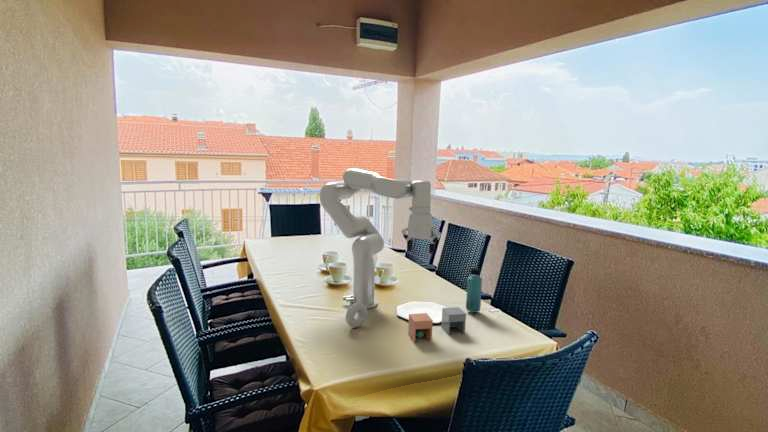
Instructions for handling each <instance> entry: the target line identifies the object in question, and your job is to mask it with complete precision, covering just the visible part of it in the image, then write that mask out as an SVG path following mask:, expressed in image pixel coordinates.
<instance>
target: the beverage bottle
mask: <svg viewBox="0 0 768 432" xmlns="http://www.w3.org/2000/svg"><path fill="white" fill-rule="evenodd" d="M470 274H471V275H469V276H468V277H467V284H466V300H465V309H466V311H469V312H473V313H474V312H475V313H476V312H480V310H481V304H482V284H483V278H482V277H481V276H480V275H481V269H480V268H478V267H471V269H470Z"/></svg>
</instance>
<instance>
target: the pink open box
mask: <svg viewBox="0 0 768 432" xmlns="http://www.w3.org/2000/svg"><path fill="white" fill-rule="evenodd" d="M433 325H434V324H433V320H432V319H431V318H430V317H429V315H428V314H427V313H420V314H409V321H408V330H407V331H408V332H407V333H408V336H409V338H410V339H411V341H412V342H413V343H416V332H417V330H422V331H423V332H424V335H425V336H426V338H427V339H428V341H429V342H432V340H433Z"/></svg>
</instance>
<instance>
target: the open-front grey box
mask: <svg viewBox="0 0 768 432" xmlns="http://www.w3.org/2000/svg"><path fill="white" fill-rule="evenodd" d="M466 319H467V313H466V312H465V311H464V310H463V309H462V308H461V307H459V306H456V307H453V306H451V307H447V308H442V322H441V329H442V330H443V331H444V332H445V333H446V335H448V336H450V331H451V328H458V330H459V331H460V332H461V333H462V334H463V335H464V334H465V333H466V324H467V323H466Z"/></svg>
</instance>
